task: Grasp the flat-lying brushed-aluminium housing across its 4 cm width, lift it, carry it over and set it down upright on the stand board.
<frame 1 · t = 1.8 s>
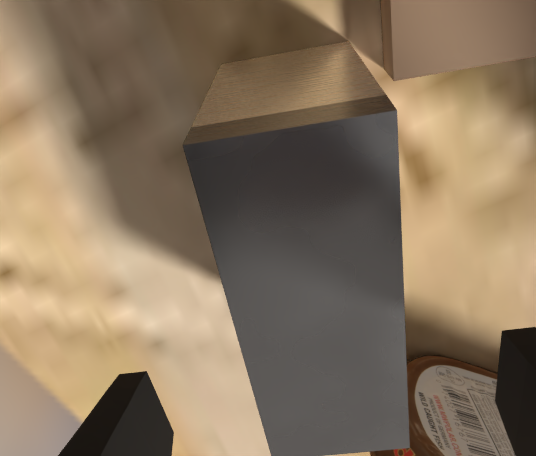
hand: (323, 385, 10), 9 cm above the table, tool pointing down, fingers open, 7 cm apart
housing: (305, 193, 17), on the table
tin: (505, 388, 23), on the table
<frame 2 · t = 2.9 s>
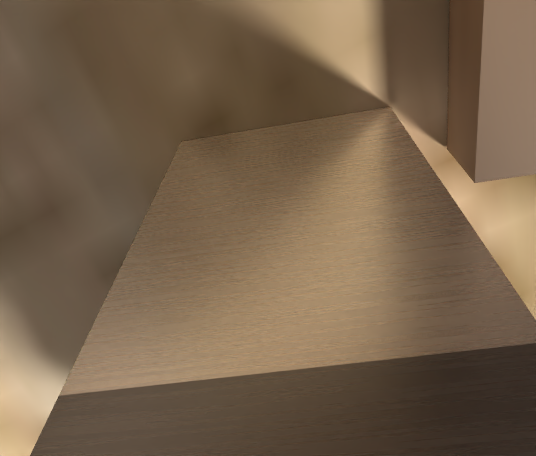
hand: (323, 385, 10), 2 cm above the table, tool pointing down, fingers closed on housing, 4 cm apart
housing: (316, 321, 11), on the table, touching gripper
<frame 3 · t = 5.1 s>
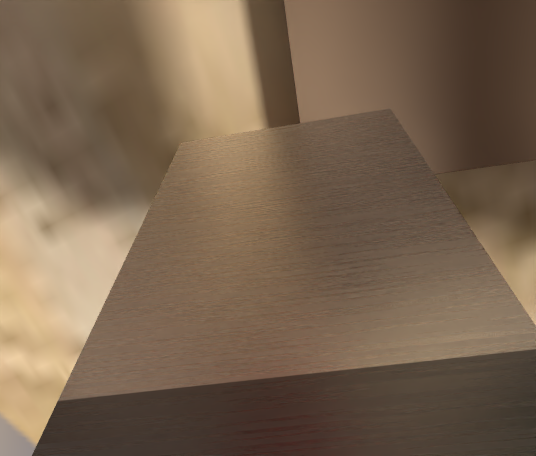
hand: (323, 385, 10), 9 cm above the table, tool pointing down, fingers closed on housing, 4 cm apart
housing: (315, 322, 11), point 7 cm above the table, touching gripper
when the fingers open (4 cm above the table, at t = 7.3 s): housing stays where it is, resting on stand.
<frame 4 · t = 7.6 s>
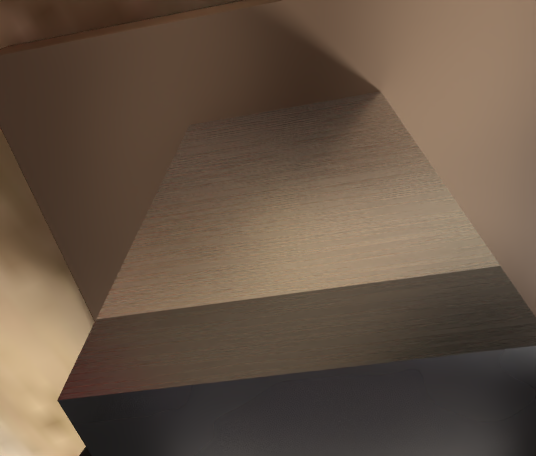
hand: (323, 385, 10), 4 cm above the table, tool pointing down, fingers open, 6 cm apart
stand: (310, 262, 14), on the table
housing: (314, 295, 12), point 1 cm above the table, touching stand
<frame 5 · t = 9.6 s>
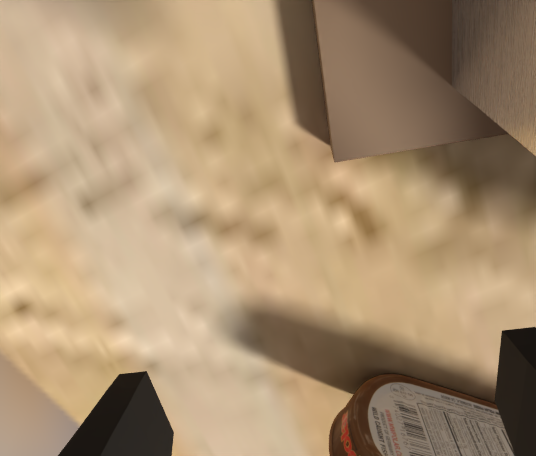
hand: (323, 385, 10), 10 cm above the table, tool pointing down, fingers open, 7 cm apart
tin: (456, 400, 26), on the table
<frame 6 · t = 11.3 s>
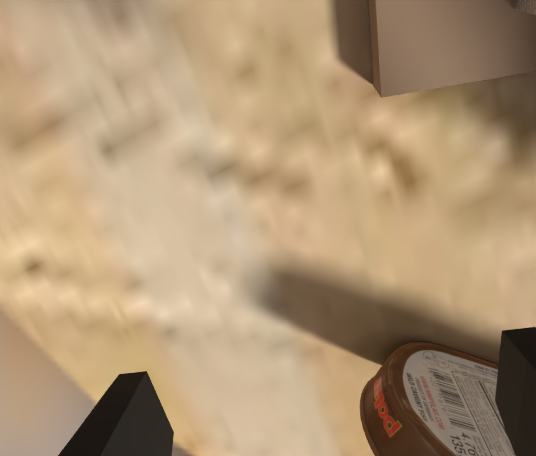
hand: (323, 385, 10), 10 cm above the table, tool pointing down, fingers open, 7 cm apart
tin: (487, 372, 25), on the table
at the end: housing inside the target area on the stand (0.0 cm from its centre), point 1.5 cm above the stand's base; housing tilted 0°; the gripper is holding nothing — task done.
